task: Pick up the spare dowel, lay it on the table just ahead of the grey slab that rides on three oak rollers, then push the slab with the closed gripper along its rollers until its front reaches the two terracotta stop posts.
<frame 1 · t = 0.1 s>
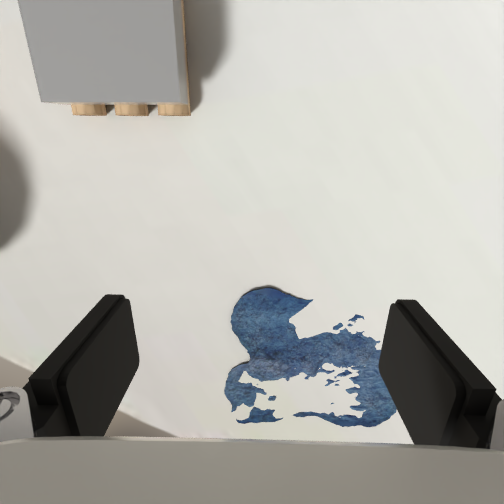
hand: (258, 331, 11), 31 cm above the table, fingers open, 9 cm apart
blue ragged flat patch: (316, 363, 52), on the table
roller b: (124, 55, 33), point 2 cm above the table
roller c: (169, 54, 33), point 2 cm above the table, touching grey slab
roller a: (79, 55, 34), point 2 cm above the table, touching grey slab
grey slab: (117, 51, 32), point 3 cm above the table, touching roller a, roller c
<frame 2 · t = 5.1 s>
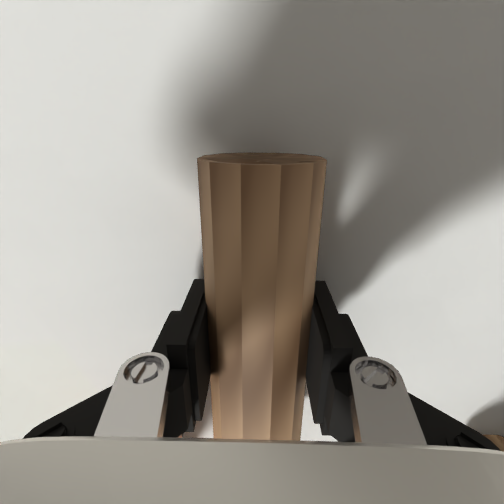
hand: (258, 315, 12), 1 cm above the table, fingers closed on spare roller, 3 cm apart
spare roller: (258, 331, 11), point 2 cm above the table, touching gripper
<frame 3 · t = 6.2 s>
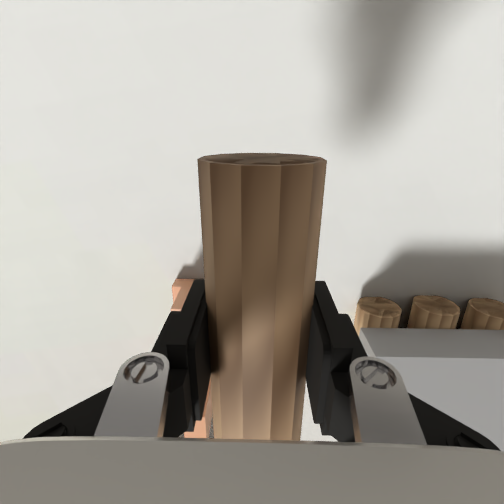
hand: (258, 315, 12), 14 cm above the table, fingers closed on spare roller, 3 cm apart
roller b: (421, 359, 29), point 2 cm above the table
roller c: (473, 363, 29), point 2 cm above the table
roller a: (368, 361, 29), point 2 cm above the table, touching grey slab
grey slab: (431, 376, 27), point 3 cm above the table, touching roller a
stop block: (200, 346, 30), on the table
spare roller: (258, 331, 11), point 15 cm above the table, touching gripper
when the fingers open (2 cm above the table, at t = 10.1 s): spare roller drops 2 cm, point 1 cm above the table.
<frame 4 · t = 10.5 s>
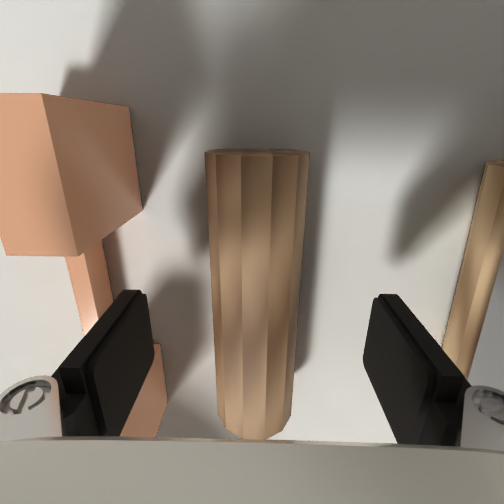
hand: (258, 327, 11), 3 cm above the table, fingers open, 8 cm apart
roller a: (503, 313, 13), point 2 cm above the table, touching grey slab
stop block: (130, 283, 14), on the table
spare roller: (255, 301, 13), point 1 cm above the table
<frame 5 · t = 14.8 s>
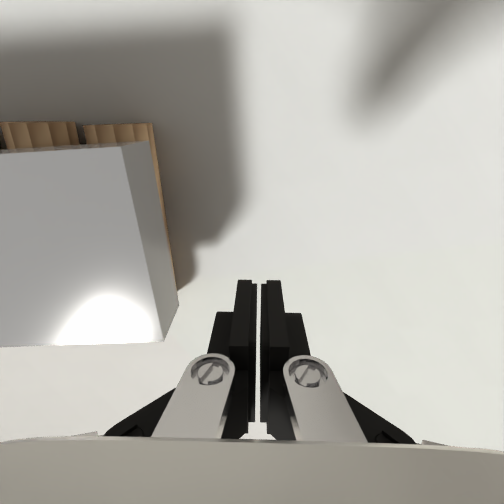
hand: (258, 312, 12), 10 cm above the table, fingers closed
roller b: (65, 223, 20), point 1 cm above the table
roller c: (137, 226, 19), point 2 cm above the table, touching grey slab
grey slab: (48, 237, 18), point 3 cm above the table, touching roller a, roller c
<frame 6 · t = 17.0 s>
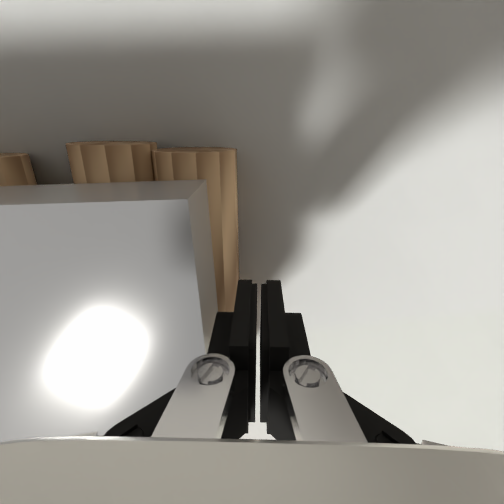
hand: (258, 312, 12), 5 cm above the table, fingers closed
roller b: (132, 269, 15), point 2 cm above the table, touching roller c
roller c: (203, 274, 15), point 2 cm above the table, tilted 33°, touching grey slab, roller b
roller a: (19, 278, 16), point 2 cm above the table, tilted 44°, touching grey slab
grey slab: (62, 296, 14), point 3 cm above the table, touching roller a, roller c
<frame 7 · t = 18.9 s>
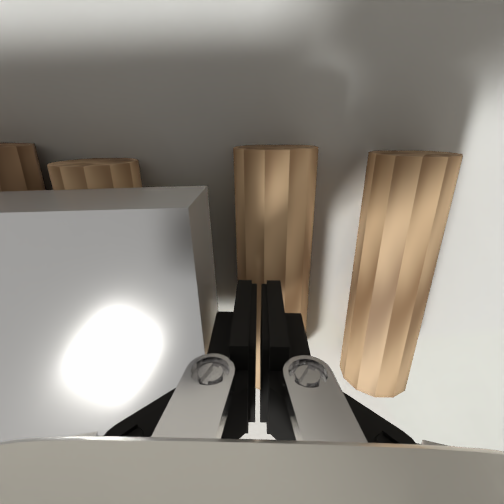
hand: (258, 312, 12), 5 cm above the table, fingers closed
roller b: (272, 273, 15), point 1 cm above the table, tilted 60°
roller c: (390, 279, 15), point 1 cm above the table, tilted 30°
roller a: (118, 283, 16), point 2 cm above the table, tilted 179°, touching grey slab
grey slab: (65, 299, 14), point 3 cm above the table, touching roller a
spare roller: (21, 269, 16), point 1 cm above the table
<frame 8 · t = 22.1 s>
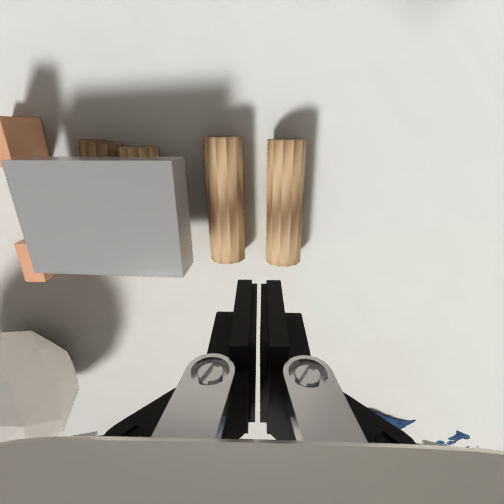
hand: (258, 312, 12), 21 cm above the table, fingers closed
blue ragged flat patch: (407, 475, 48), on the table
white faceted ball: (44, 353, 40), on the table
roller b: (225, 201, 30), point 1 cm above the table, tilted 60°
roller c: (284, 203, 30), point 1 cm above the table, tilted 30°
roller a: (145, 210, 31), point 2 cm above the table, tilted 172°
grey slab: (116, 211, 29), point 3 cm above the table, touching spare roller
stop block: (49, 195, 32), on the table
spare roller: (104, 204, 31), point 1 cm above the table, touching grey slab
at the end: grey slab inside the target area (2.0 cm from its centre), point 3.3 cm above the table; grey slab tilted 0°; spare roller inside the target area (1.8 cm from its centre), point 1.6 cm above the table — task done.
